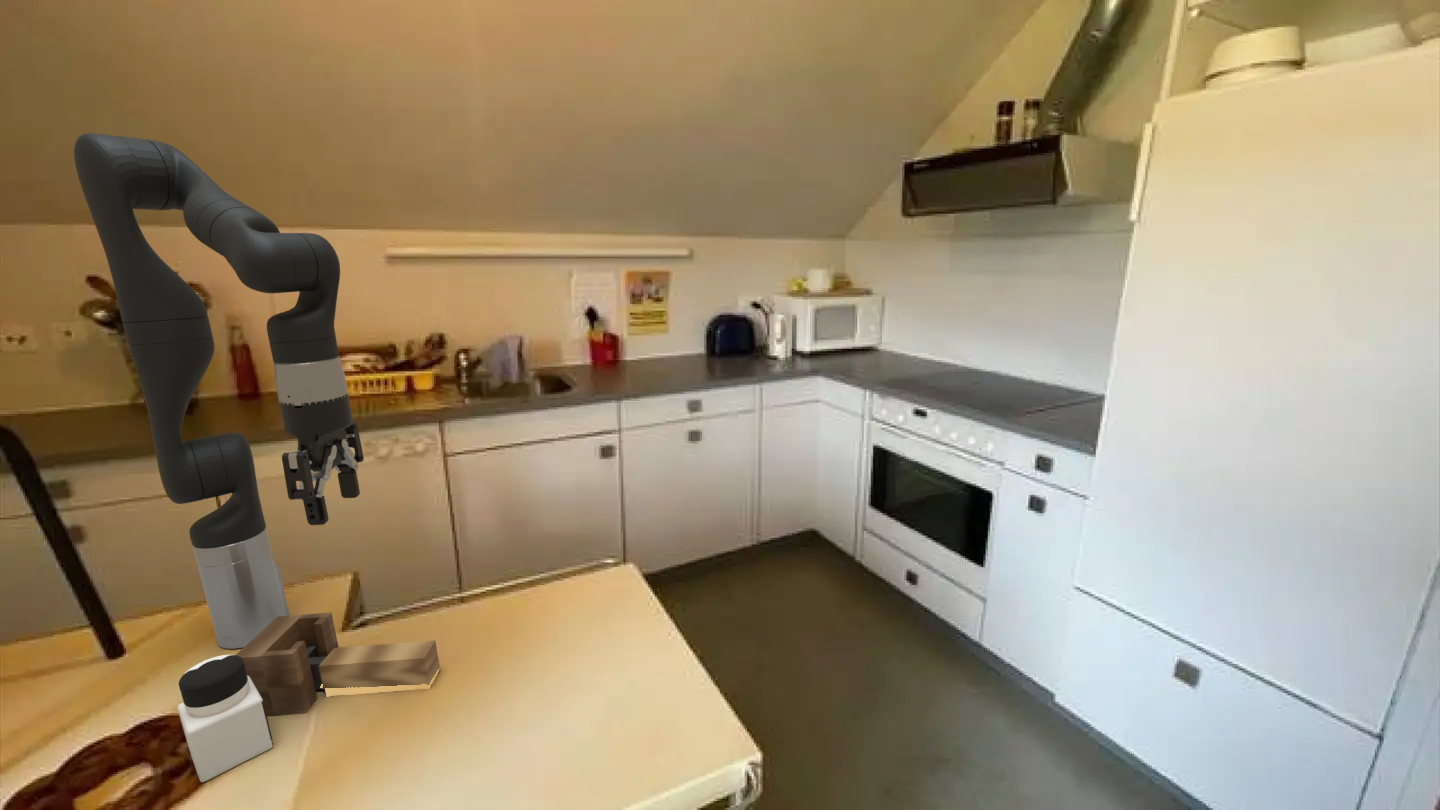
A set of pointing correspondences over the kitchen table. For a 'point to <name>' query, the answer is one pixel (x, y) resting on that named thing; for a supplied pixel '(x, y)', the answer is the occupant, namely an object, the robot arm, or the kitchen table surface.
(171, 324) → the robot arm
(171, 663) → the kitchen table surface
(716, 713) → the kitchen table surface
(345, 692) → the kitchen table surface
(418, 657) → the oak rail
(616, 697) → the kitchen table surface
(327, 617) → the wooden u-shaped block
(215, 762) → the medicine bottle
